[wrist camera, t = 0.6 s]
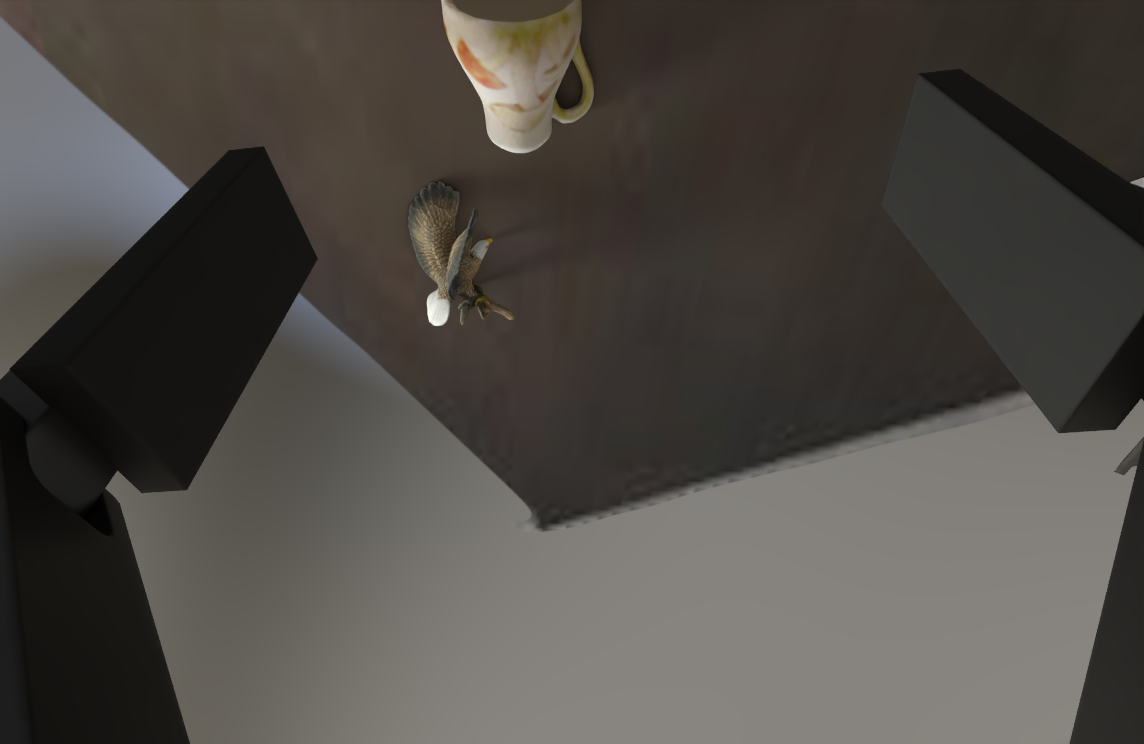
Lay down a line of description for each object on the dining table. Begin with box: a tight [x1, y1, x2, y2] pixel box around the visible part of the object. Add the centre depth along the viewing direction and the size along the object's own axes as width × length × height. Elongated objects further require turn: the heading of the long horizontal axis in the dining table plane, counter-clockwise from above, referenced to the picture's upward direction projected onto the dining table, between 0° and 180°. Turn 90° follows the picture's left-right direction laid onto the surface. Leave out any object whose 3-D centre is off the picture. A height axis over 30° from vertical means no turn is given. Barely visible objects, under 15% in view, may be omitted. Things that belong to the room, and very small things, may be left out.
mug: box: [441, 0, 594, 153], centre depth 32 cm, size 8×10×10 cm
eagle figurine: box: [408, 182, 515, 326], centre depth 42 cm, size 8×7×9 cm
